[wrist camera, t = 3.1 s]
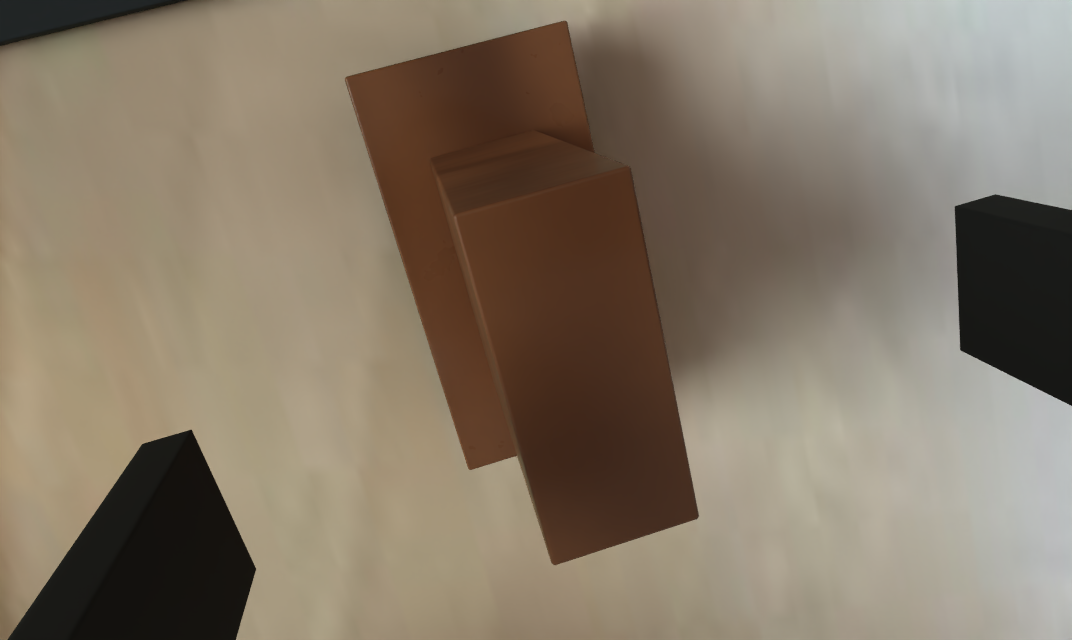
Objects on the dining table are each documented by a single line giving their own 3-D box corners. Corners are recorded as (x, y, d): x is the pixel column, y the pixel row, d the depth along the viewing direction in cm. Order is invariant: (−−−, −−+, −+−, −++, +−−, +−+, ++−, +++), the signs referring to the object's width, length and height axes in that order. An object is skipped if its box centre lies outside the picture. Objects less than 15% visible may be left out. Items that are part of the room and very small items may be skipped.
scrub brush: (460, 426, 26) (510, 689, 15) (350, 77, 22) (304, 76, 11) (622, 376, 27) (787, 595, 15) (544, 27, 22) (692, -23, 11)
